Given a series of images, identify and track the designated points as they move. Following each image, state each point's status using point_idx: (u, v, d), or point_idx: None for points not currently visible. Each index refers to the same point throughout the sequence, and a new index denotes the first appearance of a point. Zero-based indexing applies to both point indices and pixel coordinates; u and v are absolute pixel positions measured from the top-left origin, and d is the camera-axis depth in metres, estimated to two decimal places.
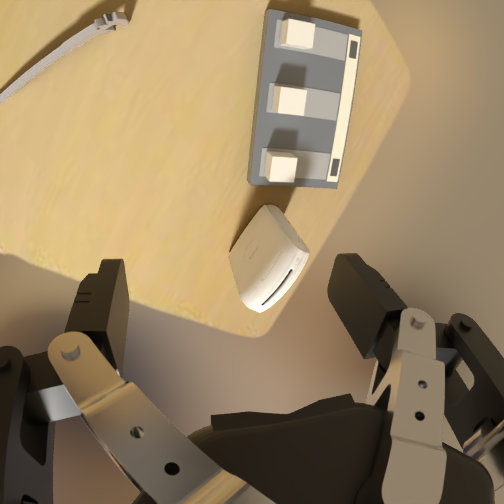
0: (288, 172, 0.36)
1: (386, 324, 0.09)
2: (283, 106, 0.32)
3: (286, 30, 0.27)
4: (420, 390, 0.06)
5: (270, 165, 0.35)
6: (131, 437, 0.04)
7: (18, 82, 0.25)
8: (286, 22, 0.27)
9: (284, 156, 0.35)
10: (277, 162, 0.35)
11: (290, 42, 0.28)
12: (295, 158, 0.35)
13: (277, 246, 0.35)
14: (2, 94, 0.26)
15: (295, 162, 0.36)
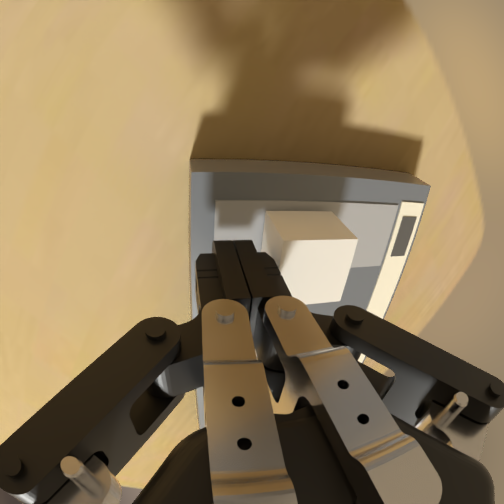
0: None
1: (258, 312, 0.09)
2: None
3: None
4: (344, 391, 0.06)
5: None
6: (230, 402, 0.05)
7: None
8: (275, 235, 0.12)
9: None
10: None
11: None
12: None
13: None
14: None
15: None
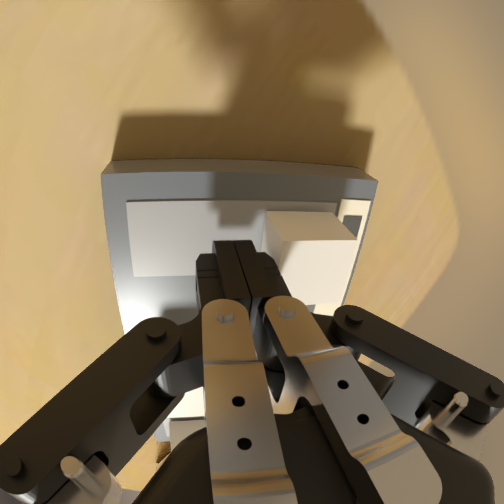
0: None
1: (258, 312, 0.09)
2: None
3: None
4: (344, 391, 0.06)
5: None
6: (230, 403, 0.05)
7: None
8: (275, 235, 0.12)
9: None
10: None
11: None
12: None
13: None
14: None
15: None
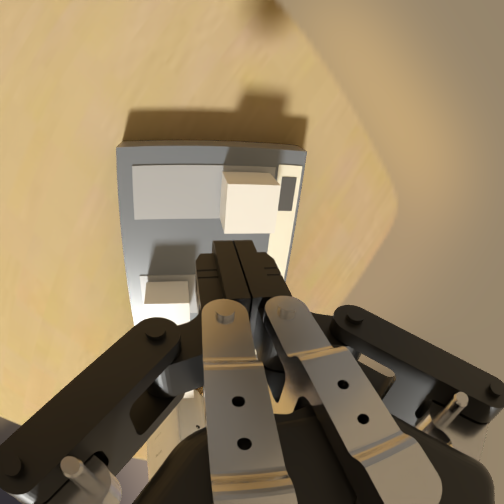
0: None
1: (258, 312, 0.09)
2: None
3: (225, 205, 0.18)
4: (344, 391, 0.06)
5: None
6: (230, 402, 0.05)
7: None
8: (225, 183, 0.18)
9: None
10: None
11: (231, 230, 0.18)
12: None
13: None
14: None
15: None
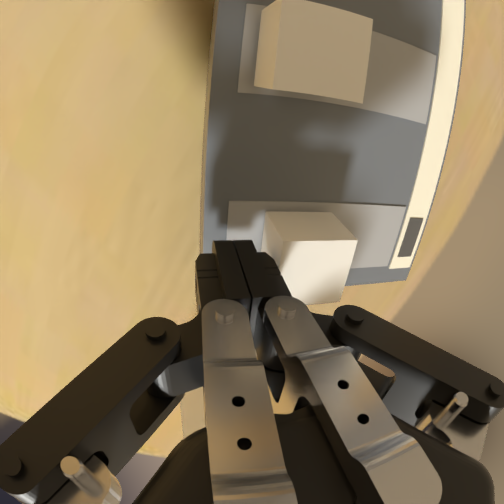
0: (327, 279, 0.12)
1: (258, 312, 0.09)
2: (293, 65, 0.08)
3: None
4: (344, 391, 0.06)
5: None
6: (230, 402, 0.05)
7: None
8: None
9: (319, 235, 0.12)
10: (298, 257, 0.12)
11: None
12: (351, 242, 0.12)
13: None
14: None
15: (350, 252, 0.12)
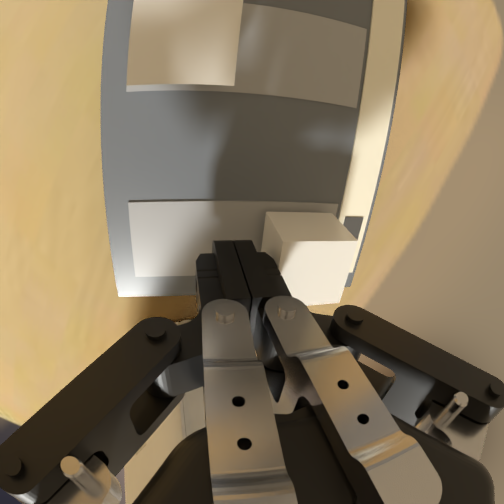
0: (327, 279, 0.12)
1: (258, 312, 0.09)
2: (147, 57, 0.07)
3: None
4: (344, 391, 0.06)
5: (276, 264, 0.12)
6: (230, 403, 0.05)
7: None
8: None
9: (319, 236, 0.12)
10: (298, 257, 0.11)
11: None
12: (351, 243, 0.12)
13: None
14: None
15: (350, 253, 0.12)
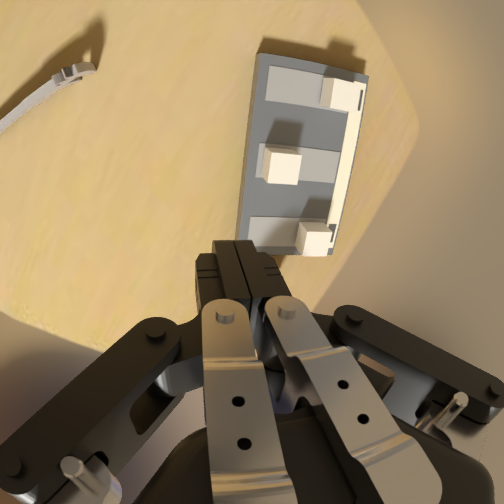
0: (321, 246, 0.35)
1: (258, 312, 0.09)
2: (274, 175, 0.30)
3: (330, 91, 0.27)
4: (344, 391, 0.06)
5: (304, 240, 0.34)
6: (230, 402, 0.05)
7: None
8: (329, 80, 0.27)
9: (319, 230, 0.34)
10: (311, 237, 0.34)
11: (334, 106, 0.27)
12: (330, 232, 0.34)
13: None
14: None
15: (329, 236, 0.34)
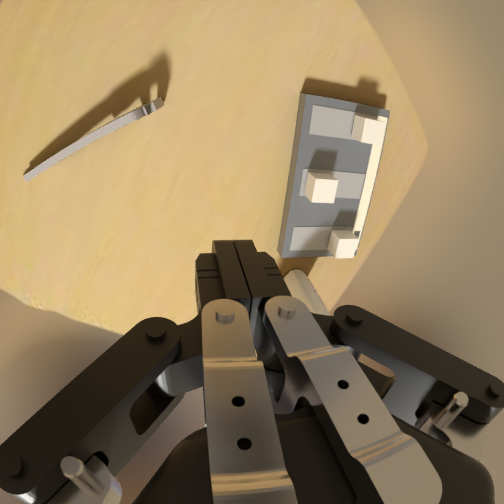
0: (350, 250, 0.42)
1: (258, 312, 0.09)
2: (316, 196, 0.37)
3: (361, 128, 0.34)
4: (344, 391, 0.06)
5: (336, 245, 0.42)
6: (230, 403, 0.05)
7: (51, 161, 0.30)
8: (361, 119, 0.34)
9: (348, 237, 0.42)
10: (342, 243, 0.42)
11: (364, 141, 0.34)
12: (356, 239, 0.42)
13: None
14: (34, 170, 0.31)
15: (356, 242, 0.42)
